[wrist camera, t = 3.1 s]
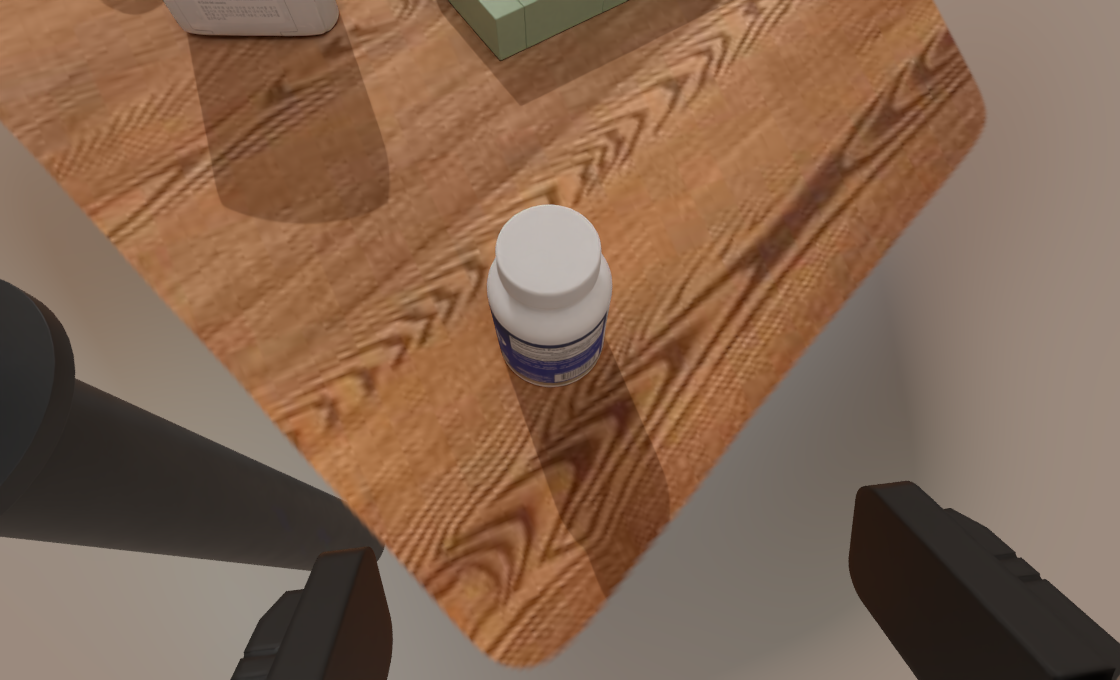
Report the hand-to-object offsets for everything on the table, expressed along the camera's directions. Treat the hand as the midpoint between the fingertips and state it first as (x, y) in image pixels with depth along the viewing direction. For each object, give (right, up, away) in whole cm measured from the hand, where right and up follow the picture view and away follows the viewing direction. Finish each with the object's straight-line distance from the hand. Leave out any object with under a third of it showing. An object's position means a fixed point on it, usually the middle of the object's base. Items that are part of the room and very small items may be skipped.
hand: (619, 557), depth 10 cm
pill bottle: (-1, +4, +21) cm, 21 cm away
